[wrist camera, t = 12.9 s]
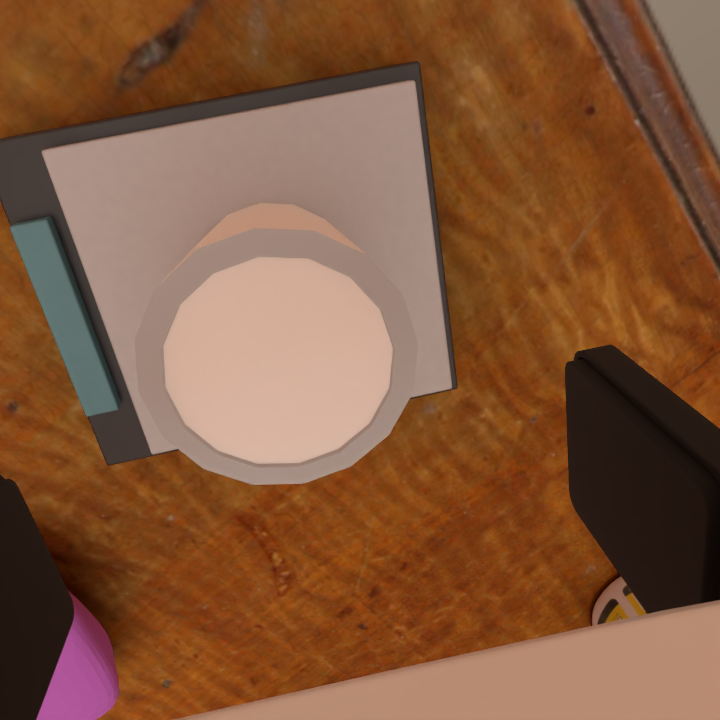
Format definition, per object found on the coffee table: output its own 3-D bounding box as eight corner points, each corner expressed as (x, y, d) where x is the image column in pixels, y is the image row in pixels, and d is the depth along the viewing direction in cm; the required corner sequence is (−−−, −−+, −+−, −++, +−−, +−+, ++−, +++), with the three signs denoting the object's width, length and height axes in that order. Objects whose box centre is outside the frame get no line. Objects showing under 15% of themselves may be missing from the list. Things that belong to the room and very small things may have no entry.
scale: (404, 62, 22) (426, 59, 19) (443, 365, 27) (464, 398, 24) (4, 137, 22) (-36, 146, 19) (119, 435, 27) (101, 478, 24)
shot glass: (408, 314, 23) (465, 404, 16) (246, 409, 23) (241, 531, 17) (308, 140, 20) (330, 167, 14) (127, 253, 20) (67, 330, 14)
